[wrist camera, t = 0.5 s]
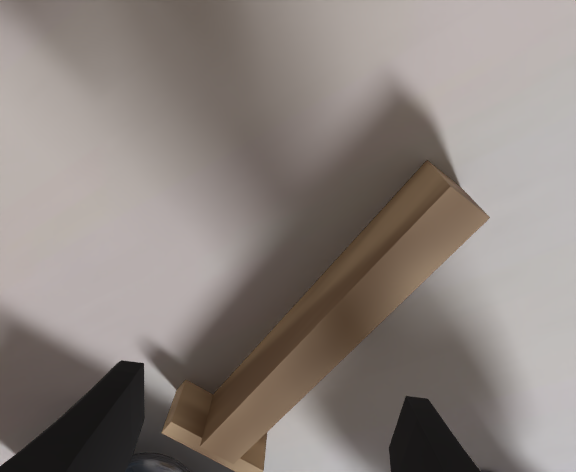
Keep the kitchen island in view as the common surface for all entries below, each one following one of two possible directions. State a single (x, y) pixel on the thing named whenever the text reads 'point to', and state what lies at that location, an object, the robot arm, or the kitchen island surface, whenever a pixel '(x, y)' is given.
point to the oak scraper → (327, 321)
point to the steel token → (154, 463)
